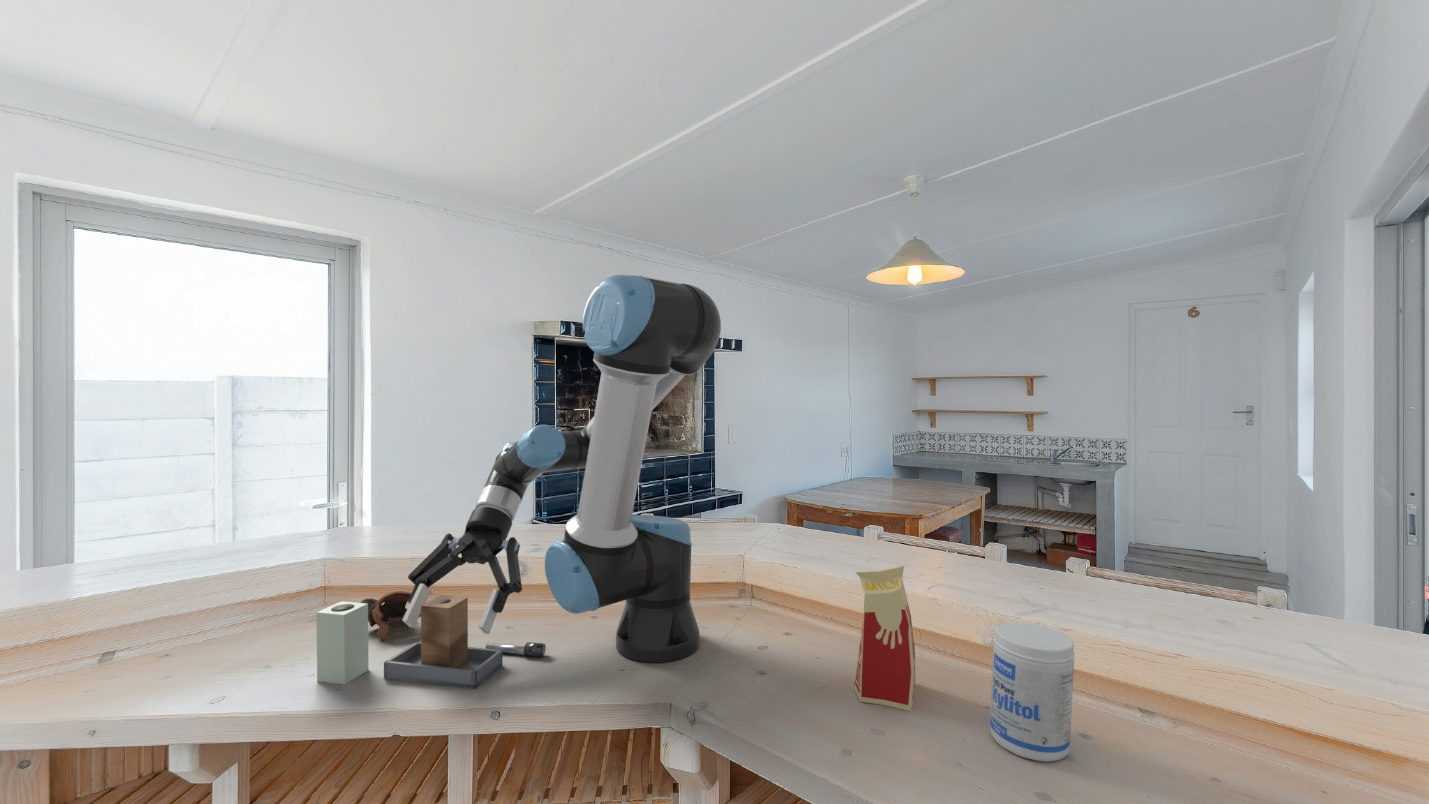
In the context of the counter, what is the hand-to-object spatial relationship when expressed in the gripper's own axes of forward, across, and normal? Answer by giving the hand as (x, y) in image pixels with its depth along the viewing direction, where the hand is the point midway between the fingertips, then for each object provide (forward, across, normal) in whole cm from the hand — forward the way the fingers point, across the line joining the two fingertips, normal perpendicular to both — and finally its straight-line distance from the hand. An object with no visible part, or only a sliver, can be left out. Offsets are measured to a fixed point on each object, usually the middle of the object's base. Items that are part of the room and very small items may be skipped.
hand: (445, 627), depth 100 cm
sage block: (+8, +15, -2) cm, 17 cm away
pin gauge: (0, -8, -11) cm, 14 cm away
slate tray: (+5, 0, -5) cm, 7 cm away
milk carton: (0, -70, -10) cm, 71 cm away
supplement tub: (+8, -88, -3) cm, 88 cm away
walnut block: (+5, 0, -4) cm, 7 cm away
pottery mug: (-4, +20, -14) cm, 25 cm away
